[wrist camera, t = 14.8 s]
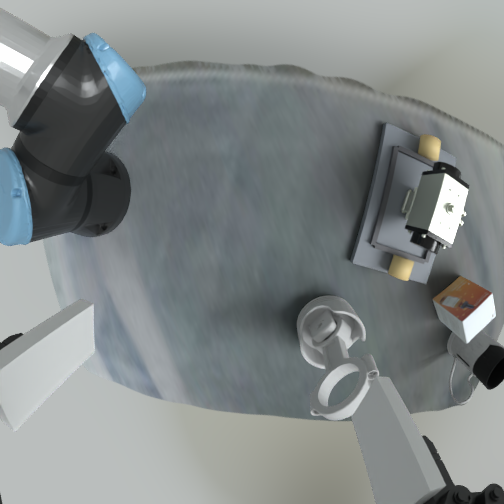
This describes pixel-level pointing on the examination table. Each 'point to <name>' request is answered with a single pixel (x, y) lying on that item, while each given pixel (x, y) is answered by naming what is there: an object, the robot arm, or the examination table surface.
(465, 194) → the pneumatic valve
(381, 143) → the mounting plate
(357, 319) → the engine component
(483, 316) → the small box
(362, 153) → the examination table surface
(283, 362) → the examination table surface
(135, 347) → the examination table surface
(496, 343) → the glass holder
